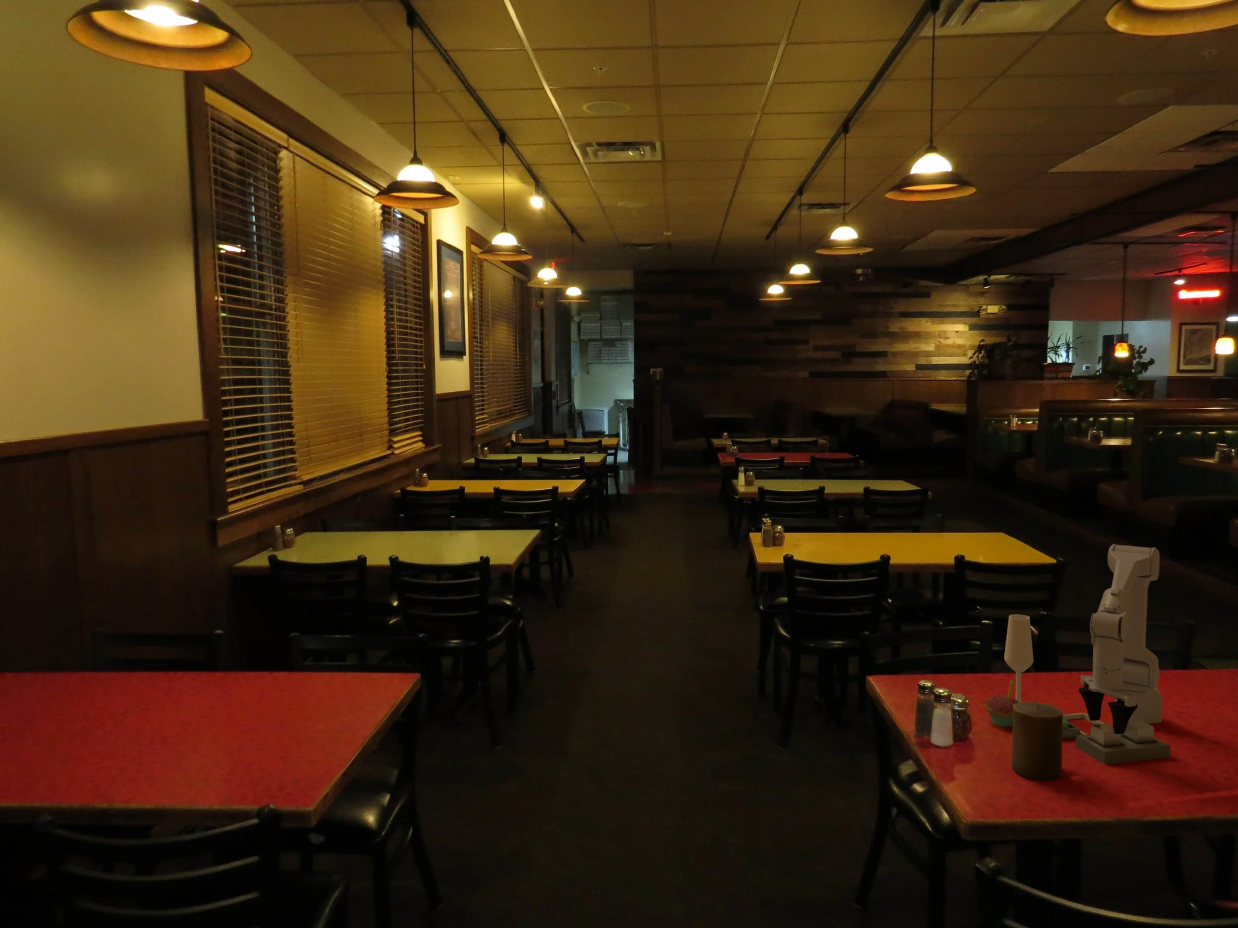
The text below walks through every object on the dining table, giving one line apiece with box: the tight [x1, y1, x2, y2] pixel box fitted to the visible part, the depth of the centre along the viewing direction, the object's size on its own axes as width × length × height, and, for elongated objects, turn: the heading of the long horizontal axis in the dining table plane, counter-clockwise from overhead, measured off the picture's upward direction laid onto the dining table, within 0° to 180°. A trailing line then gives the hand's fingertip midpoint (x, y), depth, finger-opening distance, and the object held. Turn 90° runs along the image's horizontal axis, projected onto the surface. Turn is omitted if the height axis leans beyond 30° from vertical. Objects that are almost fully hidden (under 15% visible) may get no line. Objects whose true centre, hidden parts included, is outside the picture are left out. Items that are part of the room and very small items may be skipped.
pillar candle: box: [1011, 701, 1064, 782], centre depth 182 cm, size 10×10×15 cm
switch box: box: [1062, 721, 1081, 740], centre depth 200 cm, size 6×6×3 cm
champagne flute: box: [1003, 614, 1034, 703], centre depth 217 cm, size 7×7×24 cm
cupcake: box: [983, 678, 1019, 728], centre depth 207 cm, size 9×8×12 cm
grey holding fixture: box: [1075, 733, 1171, 765], centre depth 189 cm, size 16×9×4 cm, turn 99°
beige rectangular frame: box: [1063, 712, 1106, 735], centre depth 202 cm, size 9×14×2 cm, turn 9°
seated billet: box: [1124, 720, 1155, 745], centre depth 190 cm, size 4×4×6 cm
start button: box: [1062, 719, 1069, 729], centre depth 200 cm, size 4×4×4 cm
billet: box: [1090, 723, 1120, 748], centre depth 188 cm, size 4×4×6 cm
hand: (1106, 726), depth 188 cm, fingers open, 7 cm apart
